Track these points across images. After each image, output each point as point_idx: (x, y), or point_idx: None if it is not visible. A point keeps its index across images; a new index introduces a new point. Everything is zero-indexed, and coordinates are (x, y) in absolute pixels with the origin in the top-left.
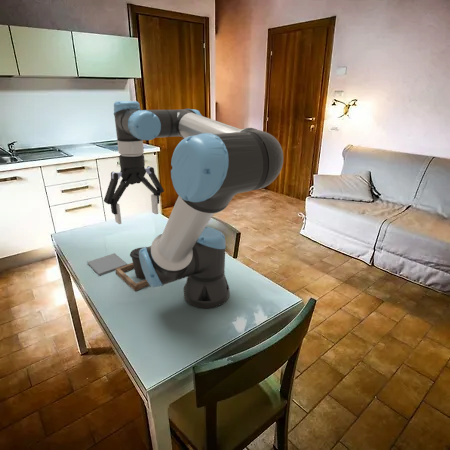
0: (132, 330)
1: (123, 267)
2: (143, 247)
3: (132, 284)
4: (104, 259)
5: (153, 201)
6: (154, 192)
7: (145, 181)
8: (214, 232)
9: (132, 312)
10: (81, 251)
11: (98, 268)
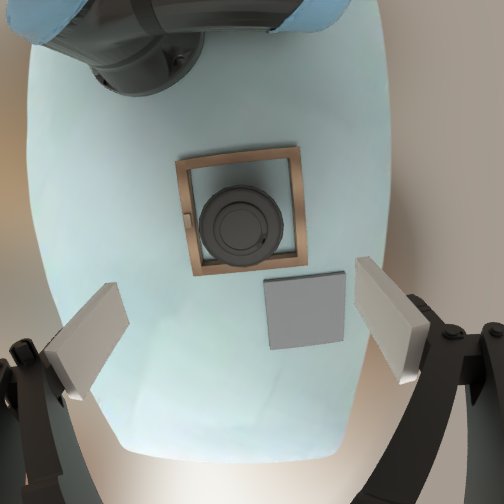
0: (352, 28)
1: (286, 259)
2: (220, 260)
3: (300, 158)
4: (305, 333)
5: (89, 348)
6: (41, 376)
7: (47, 493)
8: None
9: (334, 74)
10: (327, 391)
11: (335, 300)
